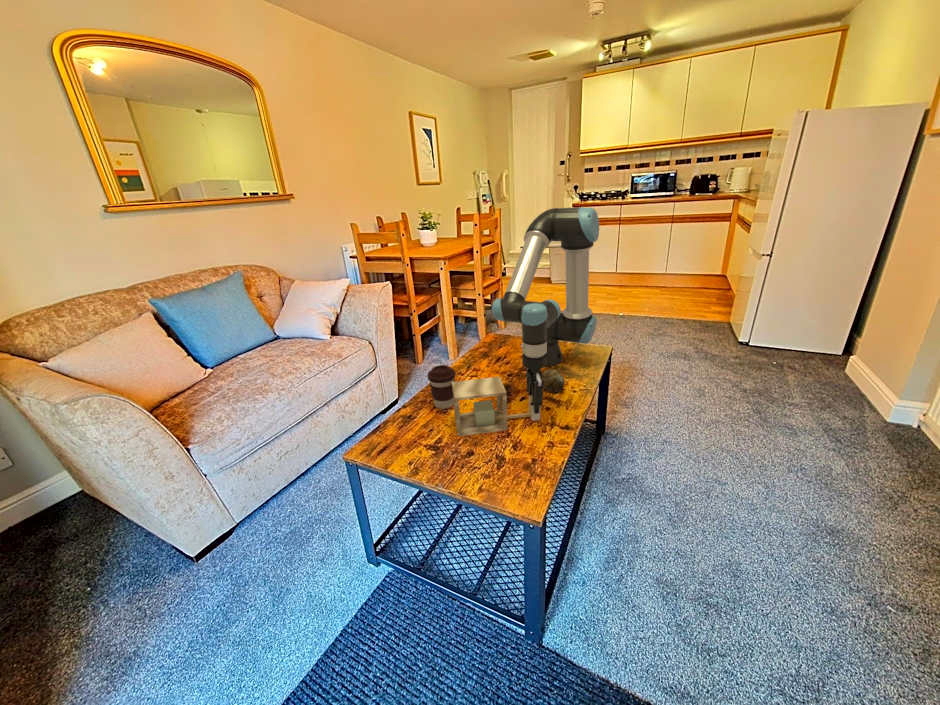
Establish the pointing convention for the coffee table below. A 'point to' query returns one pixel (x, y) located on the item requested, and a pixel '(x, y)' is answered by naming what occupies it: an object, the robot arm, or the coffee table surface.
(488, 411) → the tethered block
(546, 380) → the seashell
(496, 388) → the frame
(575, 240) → the robot arm
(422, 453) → the coffee table surface
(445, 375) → the coffee cup
